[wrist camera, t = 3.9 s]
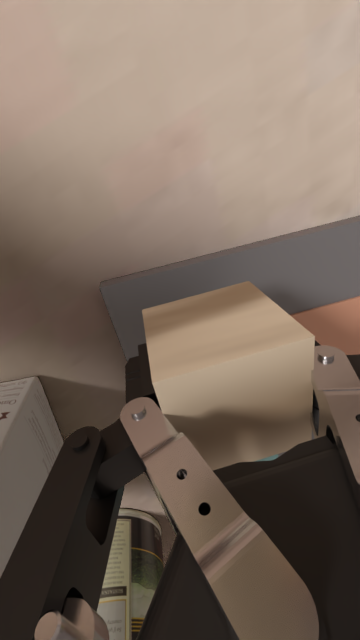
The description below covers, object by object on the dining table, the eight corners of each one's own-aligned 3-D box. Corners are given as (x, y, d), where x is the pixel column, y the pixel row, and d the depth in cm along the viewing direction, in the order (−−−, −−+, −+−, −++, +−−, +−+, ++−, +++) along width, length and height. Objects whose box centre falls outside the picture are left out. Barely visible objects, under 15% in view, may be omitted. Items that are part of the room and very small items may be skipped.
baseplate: (100, 282, 16) (99, 288, 15) (387, 208, 17) (402, 210, 16) (174, 481, 26) (176, 493, 25) (356, 427, 27) (365, 437, 26)
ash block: (141, 309, 12) (152, 383, 8) (248, 280, 13) (314, 336, 8) (167, 391, 15) (186, 482, 10) (256, 365, 15) (311, 443, 11)
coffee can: (178, 513, 28) (217, 774, 16) (137, 567, 32) (142, 816, 19) (77, 500, 25) (25, 820, 12) (43, 562, 28) (-24, 860, 16)
